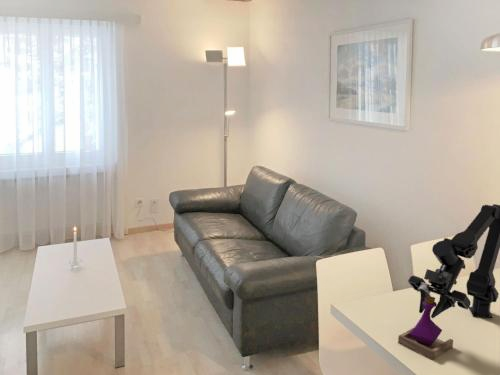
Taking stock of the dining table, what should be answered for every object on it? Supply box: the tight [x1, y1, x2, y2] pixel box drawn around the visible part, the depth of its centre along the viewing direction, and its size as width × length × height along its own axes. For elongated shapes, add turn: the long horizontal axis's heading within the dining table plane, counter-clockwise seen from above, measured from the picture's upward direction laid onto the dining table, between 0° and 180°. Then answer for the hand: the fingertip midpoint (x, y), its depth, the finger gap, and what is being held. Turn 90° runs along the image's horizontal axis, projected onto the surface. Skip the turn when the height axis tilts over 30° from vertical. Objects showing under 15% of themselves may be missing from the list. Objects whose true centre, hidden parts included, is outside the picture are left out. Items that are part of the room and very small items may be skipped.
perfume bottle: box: [410, 286, 443, 346], centre depth 151 cm, size 8×8×18 cm
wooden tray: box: [397, 327, 454, 361], centre depth 152 cm, size 11×12×2 cm
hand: (425, 315), depth 149 cm, fingers closed on perfume bottle, 4 cm apart
